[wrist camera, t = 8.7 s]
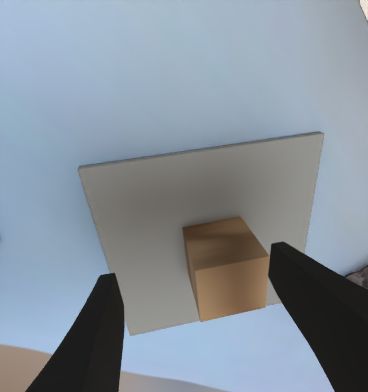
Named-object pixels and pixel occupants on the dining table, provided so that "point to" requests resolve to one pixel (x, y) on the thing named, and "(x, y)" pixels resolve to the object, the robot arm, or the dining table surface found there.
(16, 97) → the dining table surface
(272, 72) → the dining table surface
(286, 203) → the grey mat
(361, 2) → the wineglass
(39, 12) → the dining table surface
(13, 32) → the dining table surface
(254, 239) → the walnut cube
